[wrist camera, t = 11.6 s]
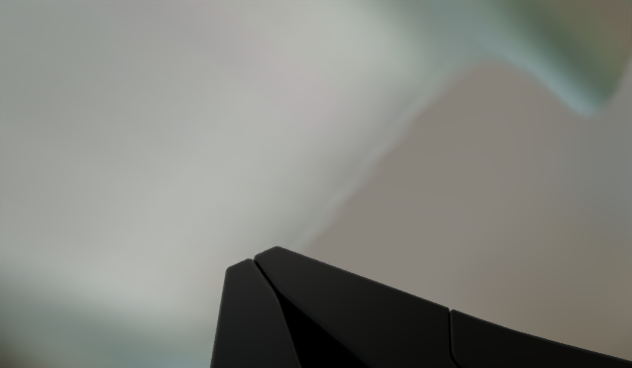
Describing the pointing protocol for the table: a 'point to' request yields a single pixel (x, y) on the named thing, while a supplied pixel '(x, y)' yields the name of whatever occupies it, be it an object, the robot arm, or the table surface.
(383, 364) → the robot arm
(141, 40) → the table surface
